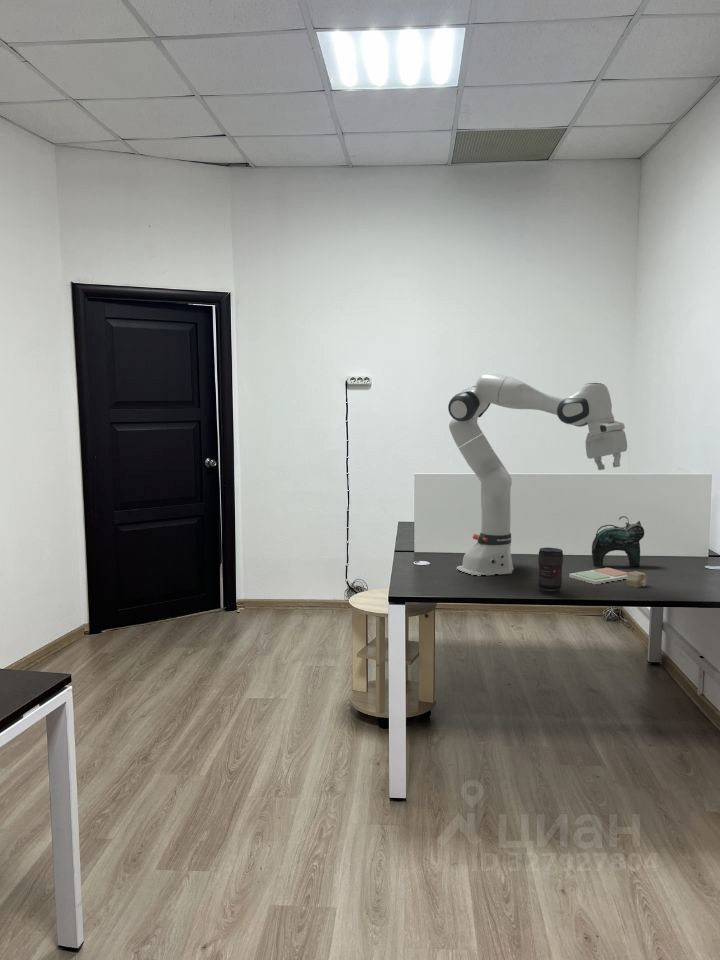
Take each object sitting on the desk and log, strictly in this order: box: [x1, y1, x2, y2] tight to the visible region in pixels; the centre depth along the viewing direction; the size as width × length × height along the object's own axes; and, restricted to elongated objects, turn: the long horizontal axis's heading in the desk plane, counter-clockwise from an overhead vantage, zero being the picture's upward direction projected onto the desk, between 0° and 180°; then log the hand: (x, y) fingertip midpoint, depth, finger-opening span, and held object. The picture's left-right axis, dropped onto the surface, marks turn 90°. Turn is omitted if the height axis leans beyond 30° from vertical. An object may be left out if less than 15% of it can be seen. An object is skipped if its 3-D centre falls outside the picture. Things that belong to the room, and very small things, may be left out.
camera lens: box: [537, 547, 564, 595], centre depth 249 cm, size 8×8×15 cm
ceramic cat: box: [591, 515, 645, 567], centre depth 287 cm, size 20×6×20 cm, turn 89°
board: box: [568, 567, 628, 586], centre depth 270 cm, size 20×13×2 cm, turn 118°
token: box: [626, 570, 647, 588], centre depth 258 cm, size 4×4×4 cm
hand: (609, 468), depth 249 cm, fingers open, 8 cm apart
